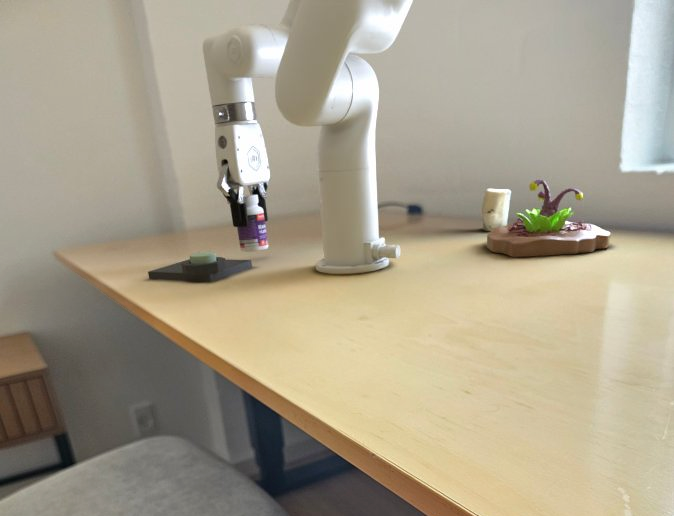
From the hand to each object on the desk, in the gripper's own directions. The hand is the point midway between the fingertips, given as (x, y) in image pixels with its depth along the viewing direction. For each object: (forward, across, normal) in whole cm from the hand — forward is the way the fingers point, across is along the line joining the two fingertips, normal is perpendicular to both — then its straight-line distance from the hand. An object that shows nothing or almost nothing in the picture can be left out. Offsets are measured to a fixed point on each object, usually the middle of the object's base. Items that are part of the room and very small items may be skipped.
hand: (250, 222), depth 123 cm
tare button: (+4, -16, -1) cm, 17 cm away
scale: (+7, -13, +3) cm, 15 cm away
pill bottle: (+5, 0, 0) cm, 5 cm away
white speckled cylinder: (+8, +36, -36) cm, 52 cm away
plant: (+8, +18, -50) cm, 54 cm away
